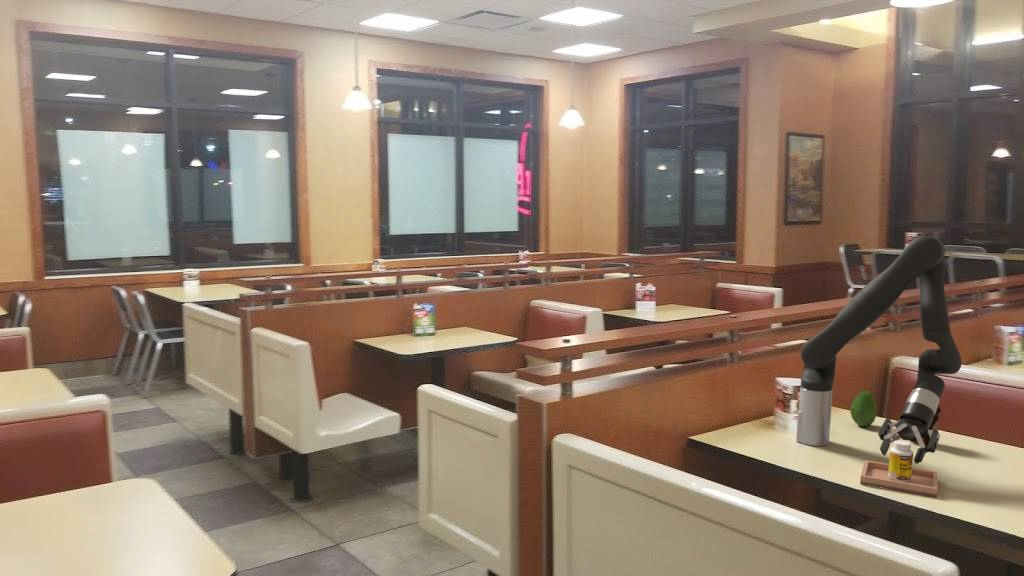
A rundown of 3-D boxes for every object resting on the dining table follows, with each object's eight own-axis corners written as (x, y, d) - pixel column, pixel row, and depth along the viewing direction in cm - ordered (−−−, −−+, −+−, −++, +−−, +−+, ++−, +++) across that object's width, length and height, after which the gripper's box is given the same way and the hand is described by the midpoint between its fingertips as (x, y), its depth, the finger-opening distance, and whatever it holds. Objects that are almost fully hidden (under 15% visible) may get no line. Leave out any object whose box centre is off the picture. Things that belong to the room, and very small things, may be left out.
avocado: (878, 425, 257) (880, 390, 256) (872, 430, 251) (874, 395, 250) (852, 420, 262) (855, 386, 261) (846, 426, 256) (848, 391, 254)
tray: (860, 484, 205) (860, 476, 205) (864, 467, 217) (865, 460, 217) (936, 497, 197) (937, 489, 196) (936, 479, 209) (937, 471, 208)
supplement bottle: (897, 483, 204) (900, 446, 202) (883, 475, 209) (886, 439, 208) (915, 482, 205) (919, 445, 203) (901, 474, 210) (904, 438, 209)
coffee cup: (931, 439, 243) (934, 399, 241) (943, 448, 235) (946, 407, 233) (902, 438, 244) (905, 398, 242) (913, 447, 236) (916, 405, 234)
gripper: (890, 395, 215) (868, 443, 209) (944, 406, 204) (924, 457, 198) (896, 410, 219) (876, 458, 213) (950, 422, 208) (930, 472, 202)
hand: (899, 457), depth 206 cm, fingers open, 8 cm apart
